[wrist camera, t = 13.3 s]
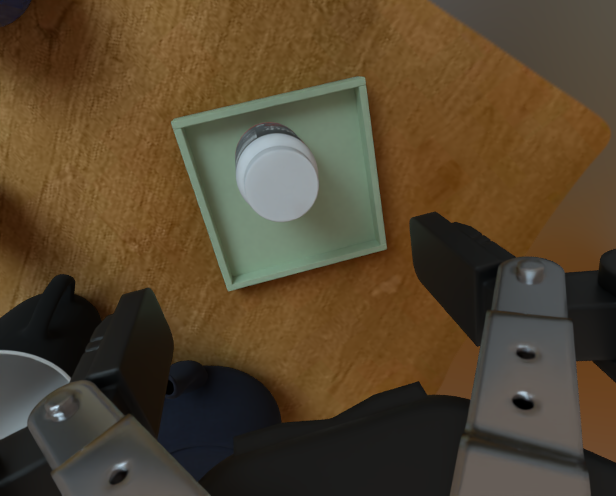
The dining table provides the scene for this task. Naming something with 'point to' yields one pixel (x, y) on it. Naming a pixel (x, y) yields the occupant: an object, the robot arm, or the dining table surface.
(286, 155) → the pill bottle
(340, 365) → the dining table surface
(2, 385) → the mug
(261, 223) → the tray
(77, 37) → the dining table surface
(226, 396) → the teapot
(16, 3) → the pen cup
